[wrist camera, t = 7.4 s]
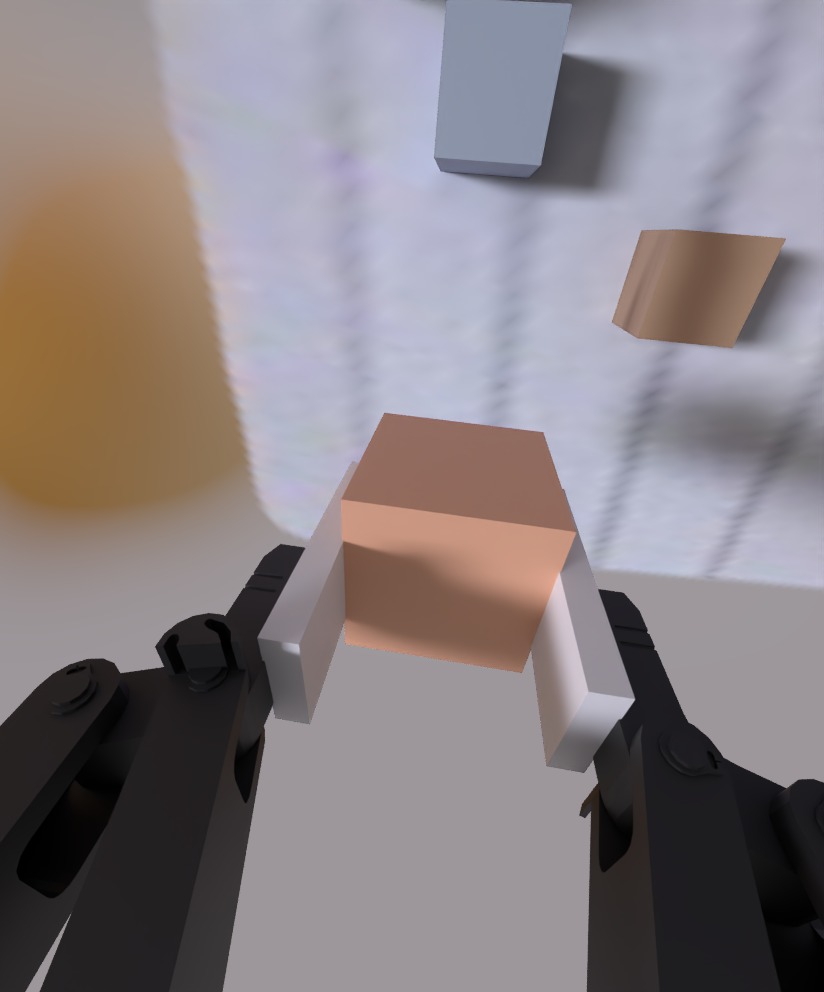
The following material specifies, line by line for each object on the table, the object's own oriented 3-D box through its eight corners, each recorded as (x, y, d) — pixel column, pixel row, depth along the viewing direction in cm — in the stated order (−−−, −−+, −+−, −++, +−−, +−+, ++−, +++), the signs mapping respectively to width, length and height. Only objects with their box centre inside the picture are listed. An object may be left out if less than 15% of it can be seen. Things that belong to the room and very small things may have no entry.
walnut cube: (729, 238, 23) (786, 238, 19) (690, 330, 26) (732, 347, 22) (641, 230, 24) (677, 229, 19) (611, 322, 26) (637, 338, 22)
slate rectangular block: (551, 51, 20) (572, 3, 16) (528, 178, 23) (540, 165, 19) (451, 45, 20) (446, -3, 16) (440, 171, 23) (433, 157, 19)
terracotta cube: (543, 432, 12) (576, 532, 8) (509, 553, 15) (521, 672, 11) (384, 413, 13) (340, 499, 9) (379, 534, 16) (345, 643, 11)
